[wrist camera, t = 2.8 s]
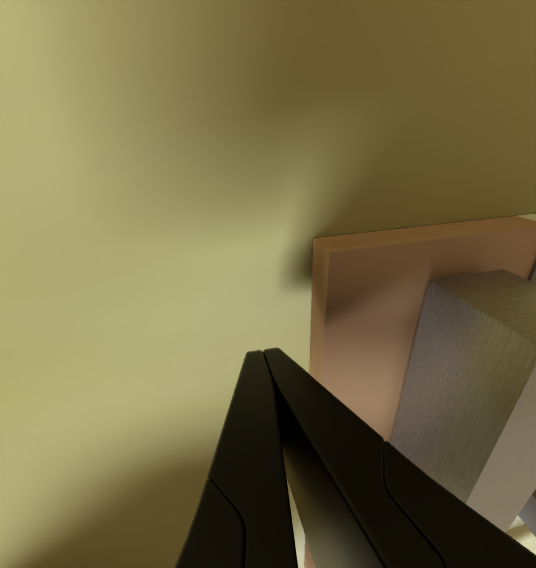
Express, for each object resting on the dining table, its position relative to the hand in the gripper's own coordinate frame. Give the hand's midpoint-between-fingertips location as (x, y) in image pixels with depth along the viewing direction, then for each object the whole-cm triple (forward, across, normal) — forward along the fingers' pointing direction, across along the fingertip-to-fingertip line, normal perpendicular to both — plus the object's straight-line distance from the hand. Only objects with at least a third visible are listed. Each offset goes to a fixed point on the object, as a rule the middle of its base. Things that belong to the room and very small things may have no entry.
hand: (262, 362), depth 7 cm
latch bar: (0, -6, +5) cm, 8 cm away
